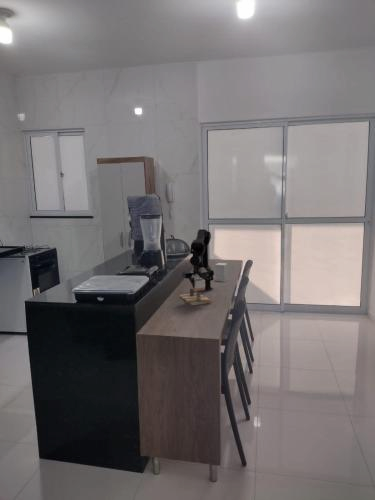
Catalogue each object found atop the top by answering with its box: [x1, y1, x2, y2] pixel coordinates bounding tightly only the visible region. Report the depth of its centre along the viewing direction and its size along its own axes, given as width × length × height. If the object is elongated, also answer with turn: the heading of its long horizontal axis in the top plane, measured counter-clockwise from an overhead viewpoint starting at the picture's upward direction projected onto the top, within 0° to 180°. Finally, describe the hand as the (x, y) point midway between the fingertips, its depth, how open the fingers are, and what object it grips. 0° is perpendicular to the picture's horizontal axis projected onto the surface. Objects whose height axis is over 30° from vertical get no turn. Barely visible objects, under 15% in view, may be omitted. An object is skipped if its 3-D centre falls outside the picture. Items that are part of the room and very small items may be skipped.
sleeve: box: [191, 277, 206, 292], centre depth 224 cm, size 6×6×6 cm
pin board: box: [179, 287, 213, 306], centre depth 230 cm, size 20×13×6 cm, turn 23°
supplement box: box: [214, 262, 229, 283], centre depth 276 cm, size 7×7×13 cm
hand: (198, 287), depth 225 cm, fingers closed on sleeve, 6 cm apart
